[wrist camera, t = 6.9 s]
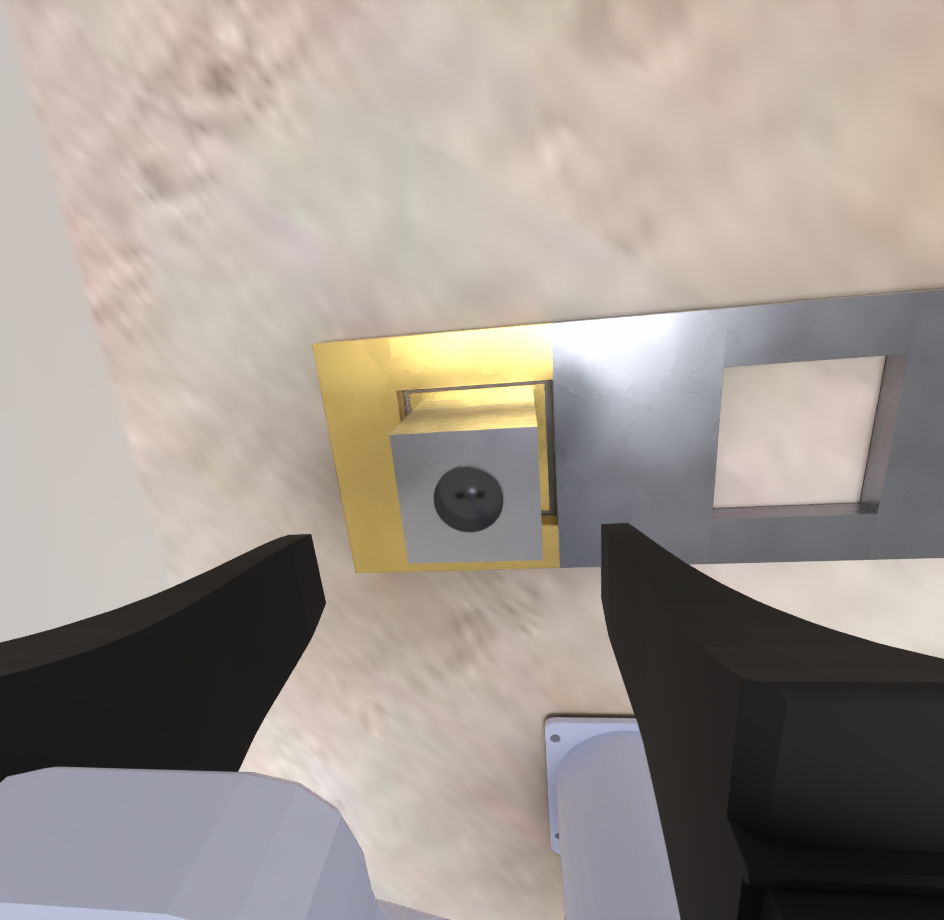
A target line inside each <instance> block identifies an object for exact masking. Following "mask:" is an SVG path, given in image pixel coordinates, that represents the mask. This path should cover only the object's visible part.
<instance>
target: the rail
mask: <svg viewBox="0 0 944 920" xmlns="http://www.w3.org/2000/svg"><path fill="white" fill-rule="evenodd" d="M312 346H313V351H314V357H315V362H316V367H317V372H318V378H319V383H320V388H321V393H322V399H323V404H324V409H325V414H326V420H327V425H328V430H329V435H330V441H331V446H332V451H333V456H334V462H335V467H336V472H337V477H338V483H339V488H340V493H341V498H342V504H343V509H344V514H345V519H346V525H347V530H348V535H349V540H350V546H351V551H352V556H353V561H354V567H355V572H356V573H374V572H413V571H452V570H490V569H529V568H568V567H601V524H610V523H629V524H630V525H632V526H634V527H635V528H636V529H638V530H639V531H641V532H642V533H643V534H645V535H646V536H648V537H649V538H650V539H652V540H653V541H655V542H656V543H657V544H659V545H660V546H662V547H663V548H664V549H666V550H667V551H669V552H670V553H672V554H673V555H675V556H676V557H678V558H679V559H681V560H682V561H684V562H685V563H687V564H723V563H762V562H801V561H840V560H879V559H917V558H944V288H937V289H926V290H914V291H903V292H892V293H880V294H869V295H857V296H846V297H834V298H823V299H811V300H800V301H788V302H777V303H765V304H754V305H742V306H731V307H719V308H708V309H696V310H685V311H673V312H662V313H650V314H639V315H627V316H616V317H604V318H593V319H581V320H570V321H558V322H547V323H535V324H524V325H512V326H501V327H490V328H478V329H467V330H455V331H444V332H432V333H421V334H409V335H398V336H386V337H375V338H363V339H352V340H340V341H329V342H320V343H316V344H312ZM882 355H887V359H886V364H885V369H884V375H883V380H882V386H881V391H880V397H879V402H878V408H877V413H876V419H875V424H874V430H873V435H872V441H871V446H870V452H869V457H868V463H867V468H866V474H865V479H864V485H863V490H862V495H861V501H860V503H844V504H818V505H792V506H767V507H741V508H716V509H713V499H714V486H715V473H716V460H717V447H718V434H719V421H720V408H721V395H722V382H723V369H724V367H731V366H745V365H759V364H772V363H786V362H800V361H814V360H827V359H841V358H855V357H869V356H882ZM539 380H552V401H553V429H554V456H555V484H556V511H557V515H541V522H542V545H543V560H534V561H493V562H452V563H411V564H408V559H407V552H406V546H405V539H404V532H403V525H402V518H401V511H400V504H399V497H398V491H397V484H396V477H395V470H394V463H393V456H392V449H391V442H390V436H389V435H390V434H391V433H392V432H393V431H394V430H395V429H396V427H397V426H398V425H399V424H400V423H401V422H402V421H403V420H404V419H405V418H406V411H405V404H404V396H403V390H415V389H429V388H442V387H456V386H470V385H484V384H497V383H511V382H525V381H539ZM523 394H533V396H534V404H535V412H536V420H537V430H538V453H539V476H540V499H541V511H542V510H550V509H549V485H548V461H547V437H546V413H545V389H544V383H543V384H529V385H516V386H502V387H488V388H474V389H460V390H446V391H432V392H418V393H410V402H411V409H412V411H413V410H414V409H415V407H416V406H417V405H418V404H419V403H420V402H421V401H432V400H447V399H462V398H477V397H493V396H508V395H523Z"/></svg>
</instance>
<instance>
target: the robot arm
mask: <svg viewBox="0 0 944 920" xmlns="http://www.w3.org/2000/svg"><path fill="white" fill-rule="evenodd" d="M601 599H602V604H603V610H604V615H605V621H606V626H607V631H608V635H609V639H610V642H611V645H612V648H613V651H614V654H615V657H616V660H617V663H618V666H619V669H620V672H621V675H622V678H623V681H624V684H625V687H626V690H627V693H628V696H629V699H630V702H631V705H632V708H633V711H634V714H635V717H636V718H574V717H552V718H549V719H547V720H546V721H545V725H544V726H545V744H546V763H547V782H548V800H549V819H550V838H551V849H552V851H553V852H554V853H556V854H560V855H561V870H562V884H563V898H564V912H565V920H944V659H942V658H937V657H933V656H929V655H925V654H921V653H916V652H912V651H908V650H904V649H900V648H895V647H891V646H887V645H883V644H880V643H876V642H873V641H869V640H866V639H863V638H859V637H856V636H853V635H849V634H846V633H843V632H839V631H836V630H833V629H830V628H827V627H824V626H821V625H818V624H815V623H812V622H809V621H806V620H804V619H801V618H799V617H796V616H793V615H791V614H788V613H786V612H783V611H780V610H778V609H775V608H773V607H770V606H768V605H766V604H763V603H761V602H759V601H756V600H754V599H752V598H750V597H748V596H746V595H744V594H742V593H740V592H738V591H735V590H733V589H731V588H729V587H727V586H725V585H723V584H721V583H720V582H718V581H716V580H714V579H712V578H711V577H709V576H707V575H705V574H704V573H702V572H700V571H699V570H697V569H695V568H693V567H692V566H690V565H689V564H687V563H685V562H684V561H682V560H681V559H679V558H678V557H676V556H675V555H673V554H672V553H670V552H669V551H667V550H666V549H664V548H663V547H662V546H660V545H659V544H657V543H656V542H655V541H653V540H652V539H650V538H649V537H648V536H646V535H645V534H643V533H642V532H641V531H639V530H638V529H636V528H635V527H634V526H632V525H630V524H629V523H610V524H601ZM325 604H326V601H325V596H324V592H323V587H322V582H321V578H320V573H319V568H318V564H317V559H316V554H315V550H314V545H313V540H312V536H311V534H300V535H287V536H284V537H280V538H278V539H275V540H273V541H270V542H268V543H266V544H264V545H261V546H259V547H257V548H255V549H253V550H251V551H249V552H246V553H244V554H242V555H240V556H238V557H236V558H234V559H232V560H230V561H228V562H226V563H224V564H222V565H220V566H218V567H215V568H213V569H211V570H209V571H207V572H205V573H202V574H200V575H198V576H196V577H194V578H191V579H189V580H187V581H185V582H183V583H180V584H178V585H176V586H174V587H172V588H169V589H167V590H165V591H162V592H160V593H157V594H155V595H152V596H150V597H147V598H145V599H142V600H139V601H137V602H134V603H131V604H129V605H126V606H123V607H121V608H118V609H115V610H112V611H109V612H106V613H103V614H100V615H96V616H93V617H90V618H87V619H84V620H80V621H77V622H74V623H71V624H68V625H64V626H61V627H58V628H55V629H51V630H47V631H44V632H40V633H36V634H33V635H29V636H25V637H21V638H17V639H13V640H9V641H5V642H1V643H0V920H448V919H445V918H441V917H438V916H435V915H431V914H428V913H424V912H421V911H418V910H414V909H411V908H407V907H404V906H401V905H397V904H394V903H391V902H387V901H383V900H379V899H375V896H374V894H373V892H372V889H371V885H370V880H369V876H368V871H367V867H366V863H365V858H364V854H363V851H362V849H361V847H360V846H359V844H358V842H357V840H356V839H355V837H354V835H353V834H352V832H351V830H350V828H349V827H348V825H347V823H346V822H345V820H344V818H343V817H342V815H341V813H340V812H339V810H338V808H336V807H335V806H333V805H332V804H330V803H329V802H327V801H326V800H324V799H323V798H321V797H320V796H318V795H317V794H315V793H314V792H312V791H311V790H309V789H308V788H306V787H305V786H303V785H302V784H300V783H298V782H294V781H289V780H285V779H280V778H276V777H272V776H267V775H263V774H258V773H254V772H238V771H239V769H240V767H241V764H242V762H243V760H244V758H245V756H246V754H247V752H248V749H249V747H250V745H251V743H252V741H253V739H254V737H255V735H256V733H257V731H258V729H259V727H260V726H261V724H262V722H263V720H264V718H265V716H266V715H267V713H268V711H269V710H270V708H271V706H272V705H273V703H274V701H275V700H276V698H277V696H278V695H279V693H280V691H281V690H282V688H283V686H284V685H285V683H286V681H287V680H288V678H289V676H290V675H291V673H292V671H293V670H294V668H295V666H296V665H297V663H298V661H299V659H300V658H301V656H302V654H303V653H304V651H305V649H306V647H307V646H308V644H309V642H310V640H311V638H312V636H313V634H314V632H315V630H316V627H317V625H318V623H319V620H320V617H321V615H322V612H323V610H324V607H325ZM553 735H557V736H553Z"/></svg>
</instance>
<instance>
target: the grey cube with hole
mask: <svg viewBox="0 0 944 920" xmlns="http://www.w3.org/2000/svg"><path fill="white" fill-rule="evenodd" d="M389 436H390V442H391V449H392V456H393V463H394V470H395V477H396V484H397V491H398V497H399V504H400V511H401V518H402V525H403V532H404V539H405V546H406V552H407V559H408V564H411V563H452V562H493V561H534V560H543V545H542V522H541V499H540V476H539V453H538V430H537V420H536V412H535V404H534V396H533V394H523V395H508V396H493V397H477V398H462V399H447V400H432V401H421V402H420V403H419V404H418V405H417V406H416V407H415V409H414V410H413V411H412V412H411V413H410V414H409V415H408V416H407V417H406V418H405V419H404V420H403V421H402V422H401V423H400V424H399V425H398V426H397V427H396V429H395V430H394V431H393V432H392V433H391V434H390V435H389Z"/></svg>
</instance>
